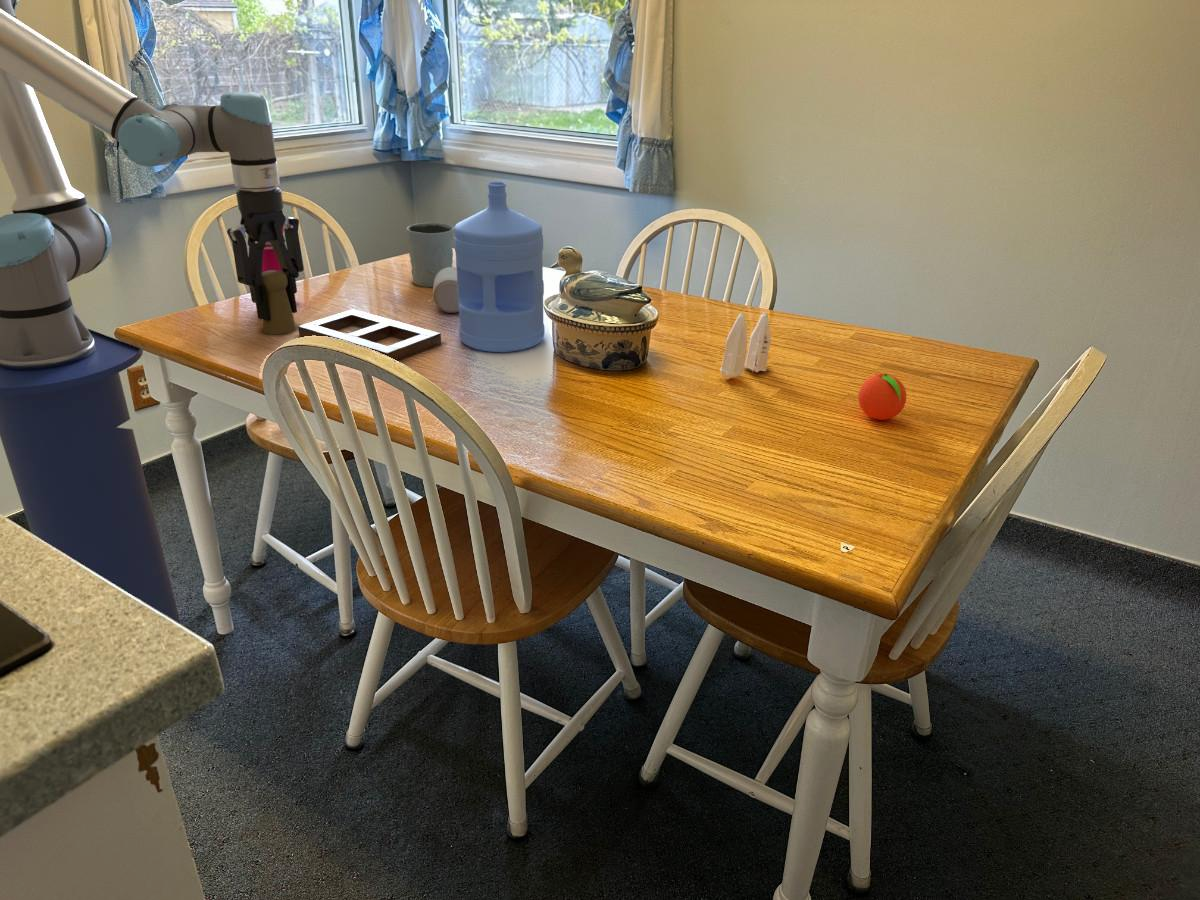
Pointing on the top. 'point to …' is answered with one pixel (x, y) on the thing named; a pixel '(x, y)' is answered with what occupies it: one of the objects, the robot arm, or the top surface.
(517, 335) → the water jug
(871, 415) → the clementine
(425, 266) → the grey tapered cup
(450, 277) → the ceramic mug
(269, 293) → the olive peg shaker
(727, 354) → the shaker set
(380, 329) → the holder
